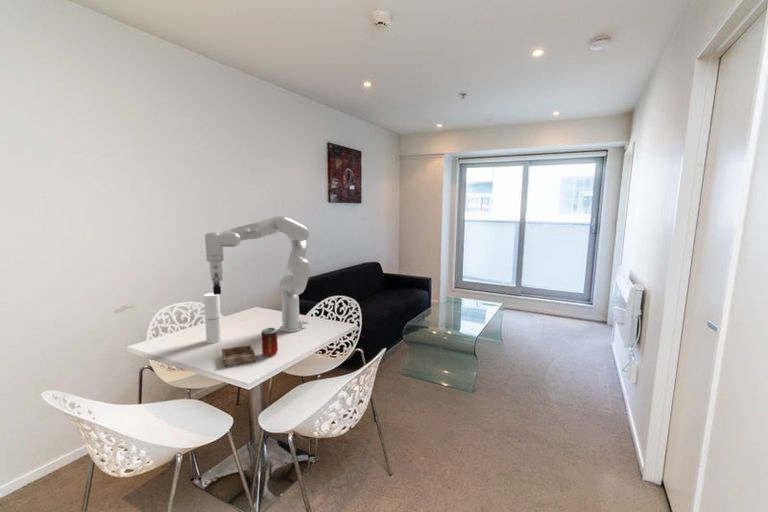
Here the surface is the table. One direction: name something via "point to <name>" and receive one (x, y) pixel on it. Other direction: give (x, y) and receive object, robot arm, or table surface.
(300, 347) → the table surface
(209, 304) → the cylindrical container
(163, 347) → the table surface
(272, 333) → the soda can
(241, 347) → the tray
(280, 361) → the table surface
